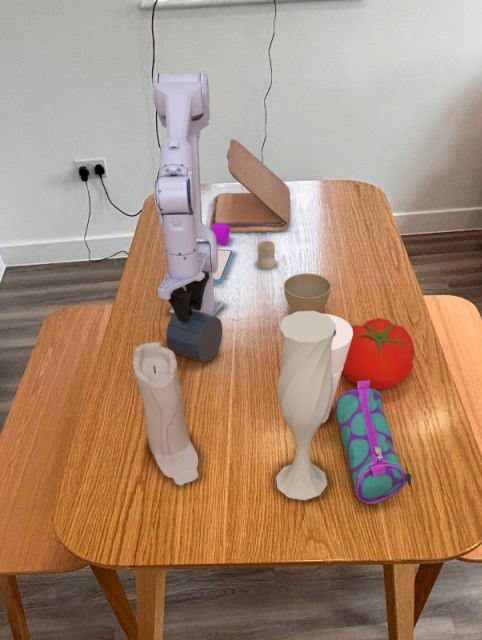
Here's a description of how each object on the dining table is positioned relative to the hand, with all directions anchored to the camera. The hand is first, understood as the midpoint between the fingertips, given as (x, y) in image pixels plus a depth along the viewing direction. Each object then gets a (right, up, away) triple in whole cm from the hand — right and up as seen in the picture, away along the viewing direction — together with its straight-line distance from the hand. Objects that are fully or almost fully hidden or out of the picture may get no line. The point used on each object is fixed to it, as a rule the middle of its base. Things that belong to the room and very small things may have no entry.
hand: (189, 314), depth 125 cm
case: (+12, +41, +46) cm, 63 cm away
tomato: (+36, -12, +1) cm, 38 cm away
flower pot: (+24, +4, +15) cm, 29 cm away
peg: (+16, +21, +29) cm, 39 cm away
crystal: (+4, +30, +38) cm, 48 cm away
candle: (-1, -29, -12) cm, 32 cm away
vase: (+21, -33, -17) cm, 43 cm away
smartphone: (+3, +20, +29) cm, 36 cm away
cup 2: (+24, -21, -6) cm, 32 cm away
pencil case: (+32, -30, -15) cm, 46 cm away
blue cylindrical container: (+4, -4, +1) cm, 6 cm away
